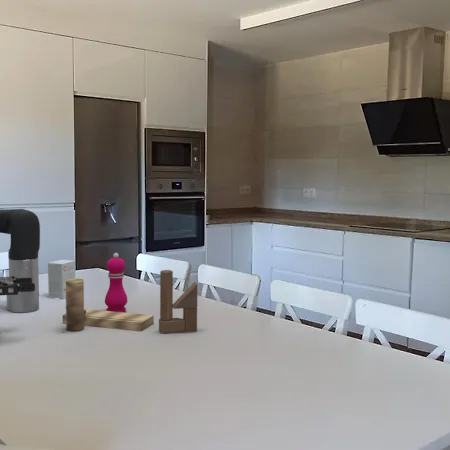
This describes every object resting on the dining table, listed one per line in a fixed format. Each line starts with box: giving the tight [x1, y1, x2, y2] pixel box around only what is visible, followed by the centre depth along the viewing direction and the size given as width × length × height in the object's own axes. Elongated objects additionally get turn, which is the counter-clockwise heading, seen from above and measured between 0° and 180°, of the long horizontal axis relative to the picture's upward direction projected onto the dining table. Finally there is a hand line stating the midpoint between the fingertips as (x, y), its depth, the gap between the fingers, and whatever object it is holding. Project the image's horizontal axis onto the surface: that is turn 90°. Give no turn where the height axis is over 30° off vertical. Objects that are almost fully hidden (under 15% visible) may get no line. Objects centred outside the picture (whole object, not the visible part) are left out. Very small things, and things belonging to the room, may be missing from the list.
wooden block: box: [158, 269, 198, 334], centre depth 164 cm, size 4×11×18 cm, turn 105°
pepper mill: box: [104, 252, 128, 313], centre depth 183 cm, size 7×7×20 cm
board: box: [62, 308, 155, 332], centre depth 172 cm, size 26×9×3 cm, turn 74°
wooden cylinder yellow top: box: [65, 278, 86, 333], centre depth 166 cm, size 5×8×15 cm, turn 164°
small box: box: [47, 259, 76, 300], centre depth 207 cm, size 8×6×13 cm
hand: (33, 284), depth 159 cm, fingers open, 8 cm apart
